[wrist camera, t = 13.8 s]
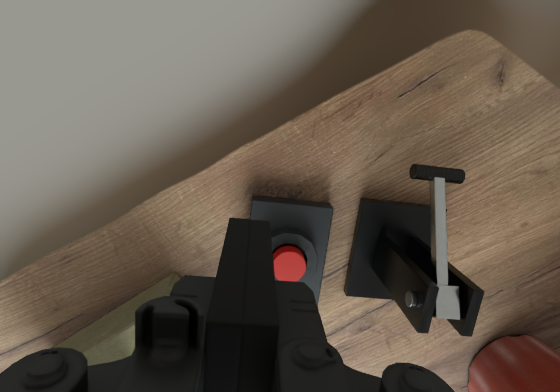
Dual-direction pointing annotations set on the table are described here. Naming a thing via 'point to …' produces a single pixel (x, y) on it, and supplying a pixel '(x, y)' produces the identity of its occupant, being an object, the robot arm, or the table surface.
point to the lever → (440, 236)
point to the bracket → (404, 264)
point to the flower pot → (515, 366)
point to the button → (289, 263)
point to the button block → (298, 231)
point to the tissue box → (116, 328)
